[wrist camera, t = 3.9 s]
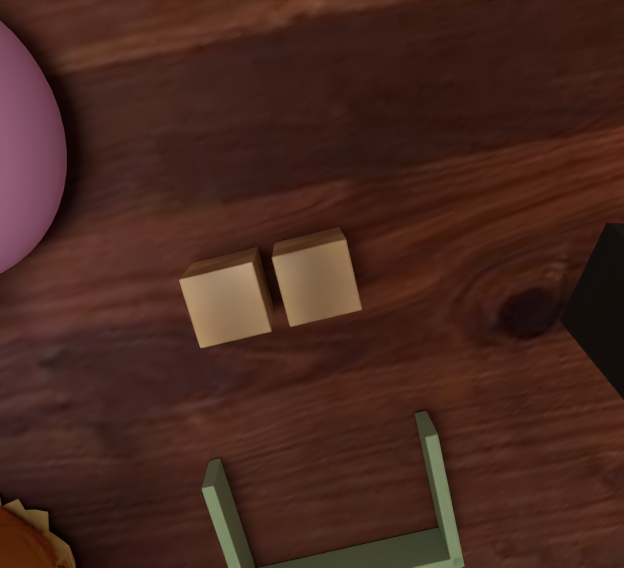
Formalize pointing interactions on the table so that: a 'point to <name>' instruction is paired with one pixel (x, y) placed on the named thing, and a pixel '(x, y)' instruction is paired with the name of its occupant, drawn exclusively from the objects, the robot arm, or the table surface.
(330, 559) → the frame
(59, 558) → the vase
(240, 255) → the cube
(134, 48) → the table surface
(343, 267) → the cube
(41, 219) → the teapot
